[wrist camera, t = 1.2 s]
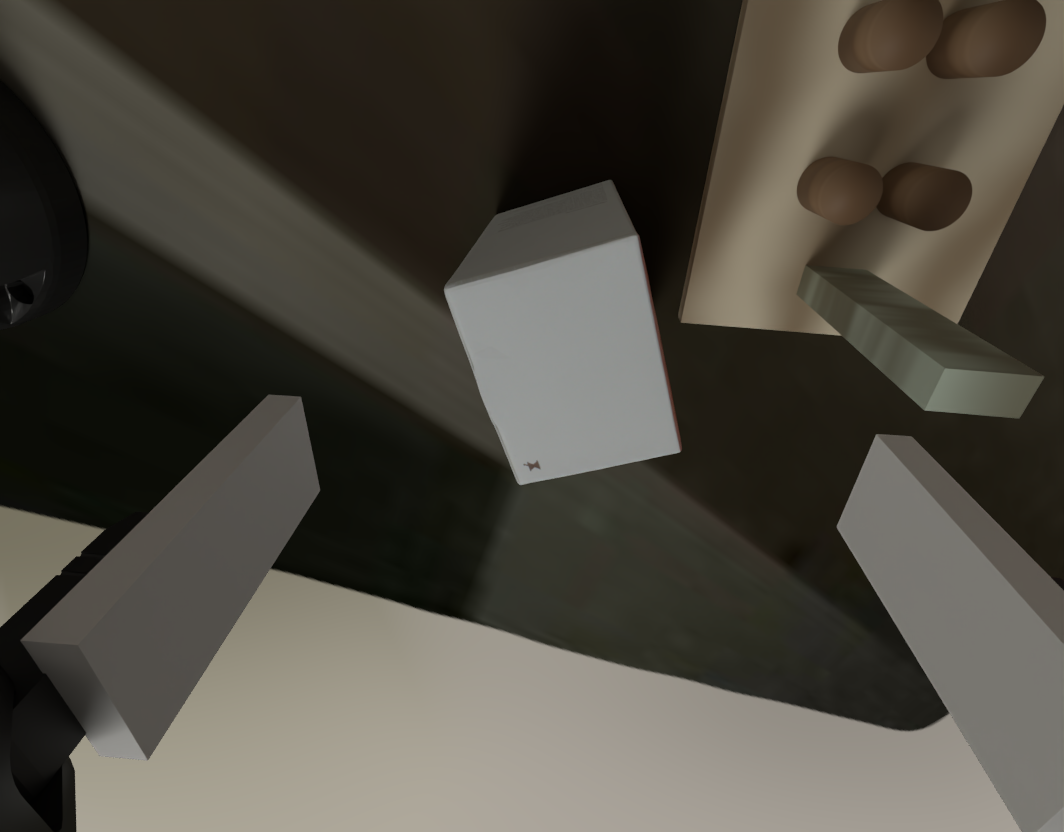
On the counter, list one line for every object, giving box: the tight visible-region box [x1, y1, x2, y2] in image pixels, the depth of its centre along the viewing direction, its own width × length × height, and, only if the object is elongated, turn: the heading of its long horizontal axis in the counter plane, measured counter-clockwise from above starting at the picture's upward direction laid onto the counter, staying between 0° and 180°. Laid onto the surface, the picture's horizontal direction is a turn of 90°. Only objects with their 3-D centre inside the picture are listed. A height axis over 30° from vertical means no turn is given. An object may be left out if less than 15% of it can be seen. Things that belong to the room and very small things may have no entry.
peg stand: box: [678, 0, 1064, 418], centre depth 19 cm, size 14×20×13 cm
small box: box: [444, 180, 682, 485], centre depth 24 cm, size 8×6×13 cm
